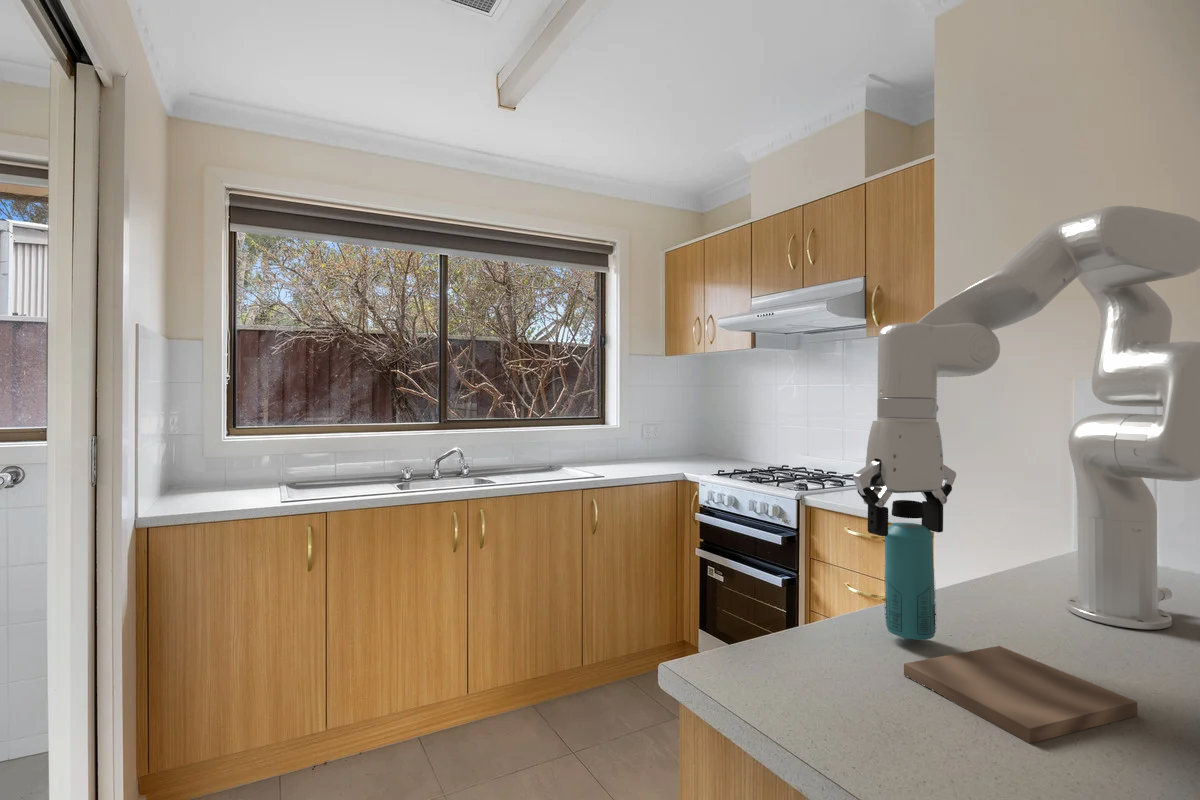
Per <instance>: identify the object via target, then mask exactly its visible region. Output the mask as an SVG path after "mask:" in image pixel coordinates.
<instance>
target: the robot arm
mask: <svg viewBox="0 0 1200 800" xmlns="http://www.w3.org/2000/svg"><path fill="white" fill-rule="evenodd" d="M1198 270H1200V221H1199V220H1197V218H1193V217H1191V216H1188V215H1184V214H1180V213H1173V212H1168V211H1164V210H1163V211H1162V210H1158V209H1153V208H1146V207H1140V206H1132V205H1112V206H1105V207H1103V208H1099V209H1096V210H1095V209H1094V210H1092V211H1089V212H1085V213H1082V214H1079V215H1075V216H1071V217H1067V218H1065V219H1061V220H1058V221H1055V222H1053V223H1051V224H1049V225H1047V226H1046V227H1044V228H1042V229H1041V230H1040V231H1038V232H1037V233H1036V234H1035V235H1034V236H1033V237H1032V238H1030V239H1029V240H1028V242H1026V243H1025V244H1024V245H1023V246H1022V247H1020V248H1019V250H1017V251H1016V252H1015V253H1014V254H1013V255H1012V256H1011V257H1010V258H1009V259H1007V260H1006V261H1005V262H1004V263H1002V265H1000V266H999V268H997V269H996V270H994V271H993V272H992V273H991V274H989V275H987V276H986V277H984V278H982V279H981V280H979V281H977V282H975V283H974V284H972V285H970V286H969V287H967V288H966V289H964V290H962V291H961V292H958V293H957V294H955V295H953V296H952V297H950V298H949V299H947V300H945V301H943V302H941V303H940V304H939V305H937V306H936V307H934V308H933V309H931V310H930V311H929V312H927V313H926V314H925V315H923V317H921V318H920V319H919V320H918V321H917V322H901V323H893V324H888V325H885V326H883V327H882V328H881V329H880V330H879V332H878V335H877V336H878V337H877V399H876V400H877V402H876V404H877V411H876V414H877V416H876V417H877V418H876V420H872V423H871V426H870V430H869V434H868V435H869V436H868V441H867V446H866V447H867V448H866V457H865V466H864V467H862V468H860V470H858V471H857V472H856V471H855V473H854V474H853V475H852V480H853V482H854V484H855V487H856V489H857V494H859V496H860V497H861V499H862V500H863V503H864V504H865V505H867V532H868V533H869V534H871V535H872V534H873V535H876V536H880V537H884V538H885V536H887V535H888V527H889V507H887V506H885V505H886V504H887V502H888V501H889V499H890V497H891V496H892V494H907V493H909V494H911V493H920V494H921V495H922V497H923V498H924V499H925V500H926V501H925V500H922V501H921V503H923V511H924V517H923V518H921V525H924V526H925V527H926V528H927V529H928V530H930V531H931V532H934V533H943V532H944V505H946V504H947V503H948V497H949V495H950V493H952V490H953V487H952V486H953V485H954V483H955V479H956V477H957V472H956V470H953V469H952V468H950V467H948V466H946V465H945V463H944V453H943V450H944V449H943V443H942V435H941V429H940V425H939V421H938V419H937V417H938V414H937V413H938V412H939V408H940V407H939V405H938V402H937V401H938V398H937V397H938V396H937V392H938V391H937V389H938V388H937V387H938V386H937V385H938V378H954V377H955V378H956V377H971V376H976V375H979V374H982V373H984V372H986V371H988V370H989V369H991V368H992V367H993V366H994V365H995V364H996V363H997V361H998V359H999V357H1000V353H1001V344H1000V341H999V338H998V337H997V335H996V334H995V332H994V331H996V330H998V329H1001V328H1005V327H1008V326H1011V325H1013V324H1017V323H1019V322H1021V321H1023V320H1026V319H1028V318H1030V317H1033V316H1035V315H1037V314H1038V313H1040V312H1041V311H1042V310H1044V309H1045V307H1046V306H1047V305H1049V304H1050V302H1052V301H1053V300H1054V299H1055V298H1056V297H1057V296H1058V295H1059V294H1060V293H1061V292H1062V291H1063V290H1065V288H1067V287H1068V286H1069V285H1070V284H1071V283H1072V282H1073V281H1075V280H1076V279H1077V280H1078V281H1079V283H1080V284H1081V285H1082V286H1083V288H1084V289H1085V290H1086V291H1087V292H1088V293H1089V295H1090V296H1091V298H1092V299H1093V301H1094V303H1095V304H1096V306H1097V309H1098V312H1099V314H1100V328H1099V336H1098V340H1097V346H1096V347H1097V348H1096V353H1095V358H1094V363H1093V369H1092V377H1091V390H1092V392H1093V395H1094V397H1095V398H1096V399H1097V400H1099V401H1101V402H1102V403H1104V404H1108V405H1111V406H1120V407H1138V408H1139V407H1141V408H1142V407H1148V408H1149V407H1150V408H1151V407H1152V408H1155V407H1158V408H1161V407H1162V414H1153V413H1152V414H1148V413H1147V414H1144V413H1117V412H1116V413H1115V412H1114V413H1113V412H1112V413H1108V412H1107V413H1097V414H1093V415H1092V414H1091V415H1089V416H1086V417H1084V418H1082V419H1080V420H1079V421H1077V422H1076V423H1075V424H1074V425H1073V426H1072V427H1071V430H1070V432H1069V435H1068V441H1067V442H1068V443H1067V444H1068V451H1069V455H1070V459H1071V464H1072V466H1073V471H1074V475H1075V476H1074V477H1075V482H1076V483H1075V484H1076V485H1075V486H1076V500H1077V501H1076V503H1077V505H1076V506H1077V512H1076V513H1077V517H1076V518H1077V519H1076V520H1077V583H1078V585H1077V587H1078V588H1077V589H1078V590H1077V593H1078V595H1074V596H1071V597H1069V598H1067V599H1066V601H1065V602H1066V604H1065V606H1066V609H1067V610H1068V611H1070V612H1071V613H1072V614H1074V615H1076V616H1078V617H1081V618H1082V619H1083V618H1084V619H1085V620H1086V619H1087V620H1090V621H1093V622H1097V623H1101V624H1105V625H1110V626H1115V627H1119V628H1127V629H1135V630H1149V631H1151V630H1164V629H1167V628H1169V627H1171V626H1172V625H1173V618H1172V616H1171V615H1170V613H1168V612H1166V611H1165V610H1163V609H1160V608H1159V603H1160V602H1161V601H1166V600H1170V599H1172V597H1173V592H1172V591H1171V590H1170V589H1169V588H1168V587H1166V586H1161V587H1158V524H1157V522H1158V521H1157V519H1158V510H1157V505H1156V500H1155V498H1154V496H1153V494H1152V492H1151V491H1150V488H1149V487H1148V485H1147V484H1146V483H1145V481H1144V480H1143V479H1152V480H1158V481H1159V480H1162V481H1172V482H1194V481H1197V480H1200V341H1190V340H1189V341H1186V340H1185V341H1175V342H1174V341H1173V342H1170V341H1171V333H1172V324H1173V316H1172V312H1171V309H1170V307H1169V305H1168V304H1167V303H1166V302H1165V300H1164V299H1163V298H1162V297H1161V296H1160V295H1159V294H1158V293H1157V292H1156V291H1154V290H1153V289H1152V288H1151V287H1150V286H1149V285H1148V284H1147V283H1152V282H1157V281H1163V280H1164V281H1165V280H1169V279H1170V280H1171V279H1174V278H1179V277H1180V278H1181V277H1184V276H1188V275H1190V274H1192V273H1195V272H1197V271H1198Z"/></svg>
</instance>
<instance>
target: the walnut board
mask: <svg viewBox="0 0 1200 800" xmlns="http://www.w3.org/2000/svg"><path fill="white" fill-rule="evenodd" d="M904 675H905V676H904ZM903 676H904V677H906V676H908V677H910V678H911V679H913V680H915V681H917V682H919V683H921V684H923V685H925V686H926V687H928V688H930V689H933V690H934V691H936V692H937V693H939V694H941V695H943V696H944V697H943V696H942V697H943V698H945V697H946V698H948V699H949V700H948V699H947V700H948V701H950V700H951V702H952V701H953V702H952V703H954V702H955V703H954V704H956V703H957V704H956V705H957V706H959V705H960V707H961V706H962V707H961V708H963V707H964V709H965V708H966V709H965V710H967V711H969V712H971V713H972V712H973V714H974V715H976V716H978V717H980V718H982V719H984V720H986V721H987V722H989V723H991V724H993V725H994V726H996V727H998V728H999V729H1000V728H1001V729H1002V730H1004V731H1006V732H1008V733H1009V734H1011V735H1014V736H1015V737H1017V738H1018V739H1020V740H1022V741H1025V742H1026V743H1028V744H1033V743H1038V742H1041V741H1042V742H1043V741H1044V740H1049V739H1053V738H1056V737H1061V736H1064V735H1068V734H1072V733H1075V732H1079V731H1084V730H1087V729H1090V728H1096V727H1099V726H1102V725H1103V726H1104V725H1106V724H1110V723H1115V722H1119V721H1122V720H1126V719H1129V718H1133V717H1138V713H1139V712H1138V709H1139V708H1138V701H1136V700H1134V699H1132V698H1129V697H1128V696H1124V695H1122V694H1120V693H1117V692H1114V691H1112V690H1109V689H1107V688H1105V687H1101V686H1099V685H1098V684H1094V683H1093V682H1090V681H1087V680H1085V679H1082V678H1080V677H1077V676H1075V675H1072V674H1070V673H1067V672H1065V671H1063V670H1060V669H1058V668H1056V667H1052V666H1050V665H1047V664H1045V663H1044V662H1041V661H1037V660H1036V659H1033V658H1031V657H1028V656H1026V655H1023V654H1021V653H1018V652H1015V651H1013V650H1011V649H1008V648H1006V647H1003V646H1001V645H997V646H991V647H987V648H981V649H979V648H978V649H974V650H970V651H964V652H959V653H954V654H948V655H943V656H936V657H933V658H928V659H927V658H926V659H920V660H917V661H911V662H905V663H903ZM911 679H910V680H911ZM913 680H912V681H913ZM915 681H914V682H915ZM917 682H916V683H917ZM919 683H918V684H919ZM926 687H925V688H926ZM928 688H927V689H928ZM930 689H929V690H930ZM937 693H936V694H937ZM939 694H938V695H939ZM941 695H940V696H941ZM946 698H945V699H946Z"/></svg>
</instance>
